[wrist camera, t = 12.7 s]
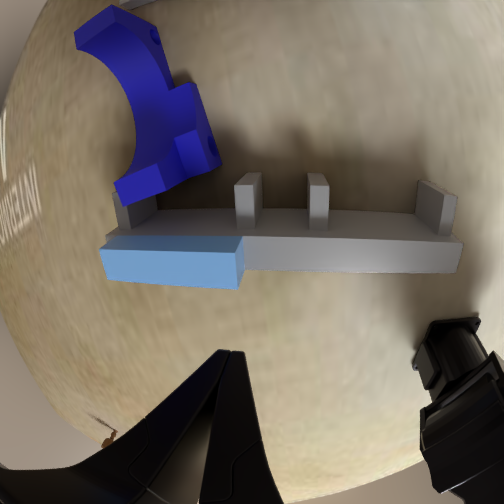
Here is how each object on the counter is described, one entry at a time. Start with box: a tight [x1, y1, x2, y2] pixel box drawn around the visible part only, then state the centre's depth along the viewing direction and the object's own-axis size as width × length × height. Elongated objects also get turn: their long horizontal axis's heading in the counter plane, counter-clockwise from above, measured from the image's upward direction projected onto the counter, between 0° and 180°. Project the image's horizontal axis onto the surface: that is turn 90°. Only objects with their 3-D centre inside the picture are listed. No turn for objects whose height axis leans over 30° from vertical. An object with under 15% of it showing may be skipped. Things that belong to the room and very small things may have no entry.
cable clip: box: [74, 5, 222, 207], centre depth 14 cm, size 12×4×6 cm, turn 17°
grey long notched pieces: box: [99, 0, 464, 289], centre depth 12 cm, size 22×20×7 cm
